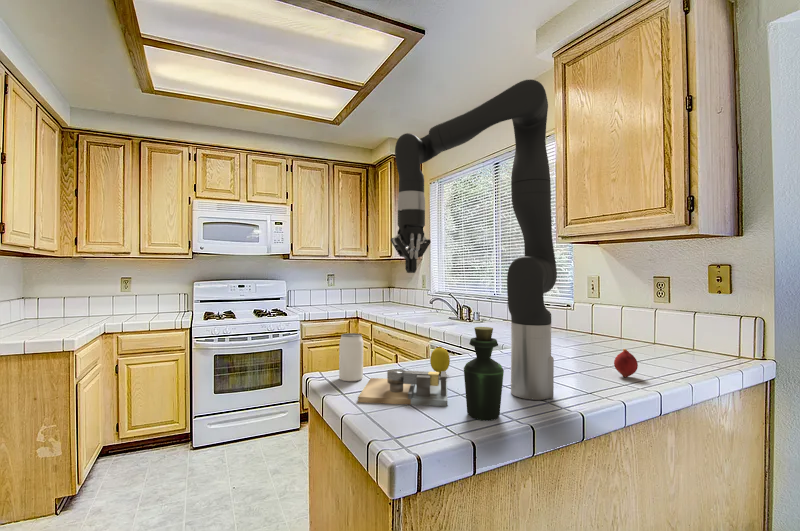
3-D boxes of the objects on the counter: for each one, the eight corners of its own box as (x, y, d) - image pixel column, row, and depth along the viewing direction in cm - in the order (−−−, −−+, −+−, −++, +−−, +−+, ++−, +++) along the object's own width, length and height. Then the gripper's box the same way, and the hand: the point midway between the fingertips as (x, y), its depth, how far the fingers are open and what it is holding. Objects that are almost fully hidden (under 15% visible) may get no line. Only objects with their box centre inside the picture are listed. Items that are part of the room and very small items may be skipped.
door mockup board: (447, 385, 107) (447, 364, 107) (447, 406, 91) (447, 381, 91) (370, 382, 109) (371, 361, 109) (358, 402, 93) (358, 377, 93)
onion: (638, 376, 117) (638, 348, 117) (637, 381, 112) (637, 351, 112) (615, 373, 120) (615, 346, 120) (613, 377, 115) (613, 349, 115)
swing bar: (385, 384, 96) (385, 373, 96) (389, 379, 100) (389, 368, 100) (438, 387, 94) (438, 375, 94) (439, 381, 98) (439, 371, 98)
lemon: (428, 372, 120) (429, 344, 120) (447, 371, 121) (447, 344, 121) (431, 377, 115) (432, 348, 115) (451, 376, 115) (451, 348, 115)
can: (358, 382, 109) (359, 337, 109) (335, 381, 110) (336, 336, 110) (365, 376, 115) (366, 333, 115) (343, 375, 116) (344, 332, 116)
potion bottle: (512, 417, 84) (512, 329, 84) (482, 425, 80) (483, 332, 80) (483, 406, 91) (484, 324, 91) (455, 413, 86) (455, 327, 86)
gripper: (420, 213, 120) (420, 272, 120) (383, 208, 112) (383, 272, 112) (438, 210, 114) (438, 273, 114) (401, 205, 106) (400, 273, 106)
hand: (410, 272), depth 113 cm, fingers closed
